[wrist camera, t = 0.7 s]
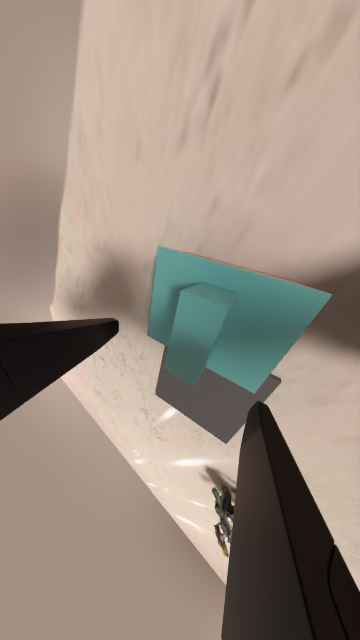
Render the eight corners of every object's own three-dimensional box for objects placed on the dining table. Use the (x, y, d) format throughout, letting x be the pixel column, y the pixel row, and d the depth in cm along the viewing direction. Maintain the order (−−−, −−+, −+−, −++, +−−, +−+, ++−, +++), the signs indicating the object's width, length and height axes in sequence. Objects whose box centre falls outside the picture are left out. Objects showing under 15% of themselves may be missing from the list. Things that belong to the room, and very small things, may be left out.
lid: (321, 289, 10) (385, 319, 5) (254, 379, 15) (252, 441, 10) (169, 247, 15) (119, 241, 9) (156, 329, 20) (119, 354, 14)
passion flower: (232, 462, 38) (198, 488, 31) (271, 474, 30) (236, 513, 23) (251, 525, 33) (215, 572, 26) (303, 560, 25) (270, 639, 18)
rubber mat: (280, 378, 18) (281, 382, 18) (226, 440, 27) (226, 444, 27) (171, 325, 24) (169, 327, 23) (156, 392, 33) (155, 394, 32)
